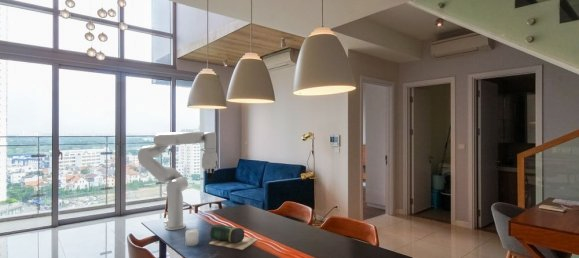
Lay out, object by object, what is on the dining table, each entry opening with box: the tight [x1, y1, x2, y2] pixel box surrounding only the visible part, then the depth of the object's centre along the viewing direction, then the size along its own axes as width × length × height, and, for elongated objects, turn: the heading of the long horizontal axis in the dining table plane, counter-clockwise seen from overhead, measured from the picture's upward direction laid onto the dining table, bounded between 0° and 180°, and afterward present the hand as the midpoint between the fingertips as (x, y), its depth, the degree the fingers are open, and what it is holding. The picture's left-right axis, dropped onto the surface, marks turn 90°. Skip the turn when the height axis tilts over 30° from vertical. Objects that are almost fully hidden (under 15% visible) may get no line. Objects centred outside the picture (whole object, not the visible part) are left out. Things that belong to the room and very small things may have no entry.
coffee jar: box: [209, 223, 245, 243], centre depth 176 cm, size 10×8×19 cm
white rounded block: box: [184, 228, 199, 247], centre depth 173 cm, size 7×7×7 cm
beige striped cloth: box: [208, 236, 258, 251], centre depth 175 cm, size 22×16×1 cm
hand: (210, 178), depth 201 cm, fingers closed
